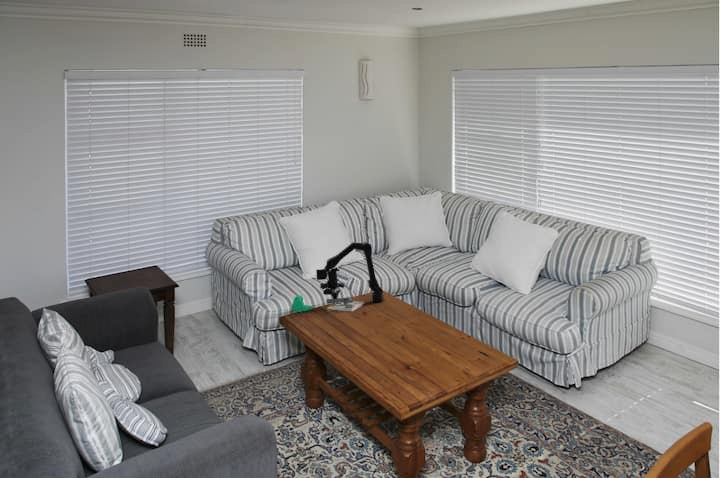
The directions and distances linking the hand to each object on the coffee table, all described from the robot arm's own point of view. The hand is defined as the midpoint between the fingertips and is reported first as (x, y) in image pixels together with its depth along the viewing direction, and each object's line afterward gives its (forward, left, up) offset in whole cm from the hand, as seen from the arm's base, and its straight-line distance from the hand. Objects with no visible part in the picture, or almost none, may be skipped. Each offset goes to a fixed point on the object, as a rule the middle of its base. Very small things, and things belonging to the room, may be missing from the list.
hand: (335, 301), depth 392 cm
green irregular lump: (+18, +12, -4) cm, 22 cm away
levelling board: (-8, +1, -3) cm, 9 cm away
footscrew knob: (-4, +1, -2) cm, 4 cm away
